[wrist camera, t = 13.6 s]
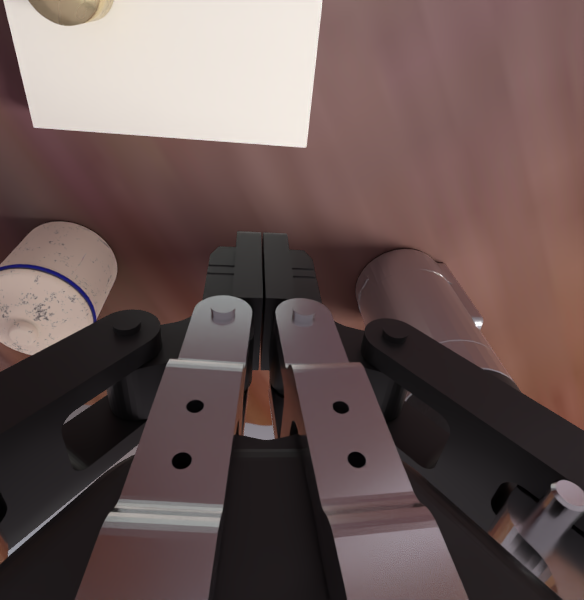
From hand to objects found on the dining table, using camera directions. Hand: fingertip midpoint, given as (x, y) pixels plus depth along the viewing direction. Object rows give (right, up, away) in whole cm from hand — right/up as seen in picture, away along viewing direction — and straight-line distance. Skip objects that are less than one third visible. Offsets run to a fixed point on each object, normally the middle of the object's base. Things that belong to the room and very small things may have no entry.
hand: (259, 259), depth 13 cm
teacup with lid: (-20, +2, +30) cm, 37 cm away
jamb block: (-8, +18, +20) cm, 27 cm away
